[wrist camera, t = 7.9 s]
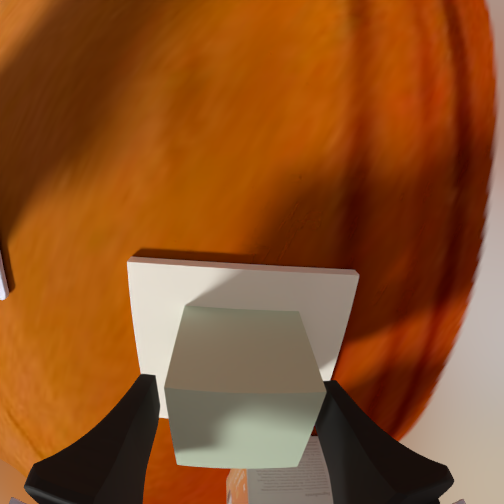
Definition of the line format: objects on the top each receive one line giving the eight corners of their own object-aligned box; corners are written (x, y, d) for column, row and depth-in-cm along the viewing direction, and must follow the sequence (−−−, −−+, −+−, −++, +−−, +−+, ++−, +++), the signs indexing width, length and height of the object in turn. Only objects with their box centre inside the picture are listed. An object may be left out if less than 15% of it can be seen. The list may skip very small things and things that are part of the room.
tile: (151, 408, 16) (149, 416, 16) (131, 256, 13) (127, 261, 12) (313, 414, 17) (315, 421, 16) (354, 269, 13) (359, 275, 13)
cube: (187, 386, 15) (177, 464, 10) (184, 305, 13) (163, 387, 8) (282, 389, 15) (297, 466, 10) (298, 311, 13) (326, 391, 9)
